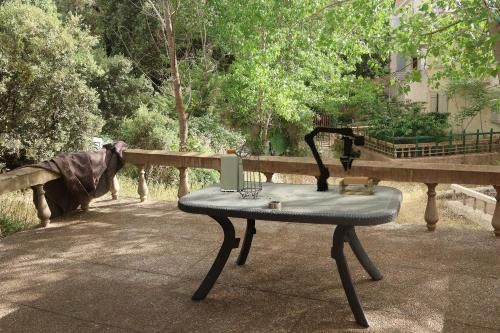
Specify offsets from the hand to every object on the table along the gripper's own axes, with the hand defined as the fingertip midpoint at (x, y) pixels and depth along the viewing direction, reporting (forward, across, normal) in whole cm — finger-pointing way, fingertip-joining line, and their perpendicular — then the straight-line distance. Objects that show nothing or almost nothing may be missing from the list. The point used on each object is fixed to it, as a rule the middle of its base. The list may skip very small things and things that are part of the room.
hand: (348, 170), depth 298 cm
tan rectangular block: (+7, -10, -8) cm, 14 cm away
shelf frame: (+13, -10, -8) cm, 18 cm away
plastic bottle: (+14, -18, +76) cm, 79 cm away
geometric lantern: (+14, -36, +53) cm, 66 cm away
